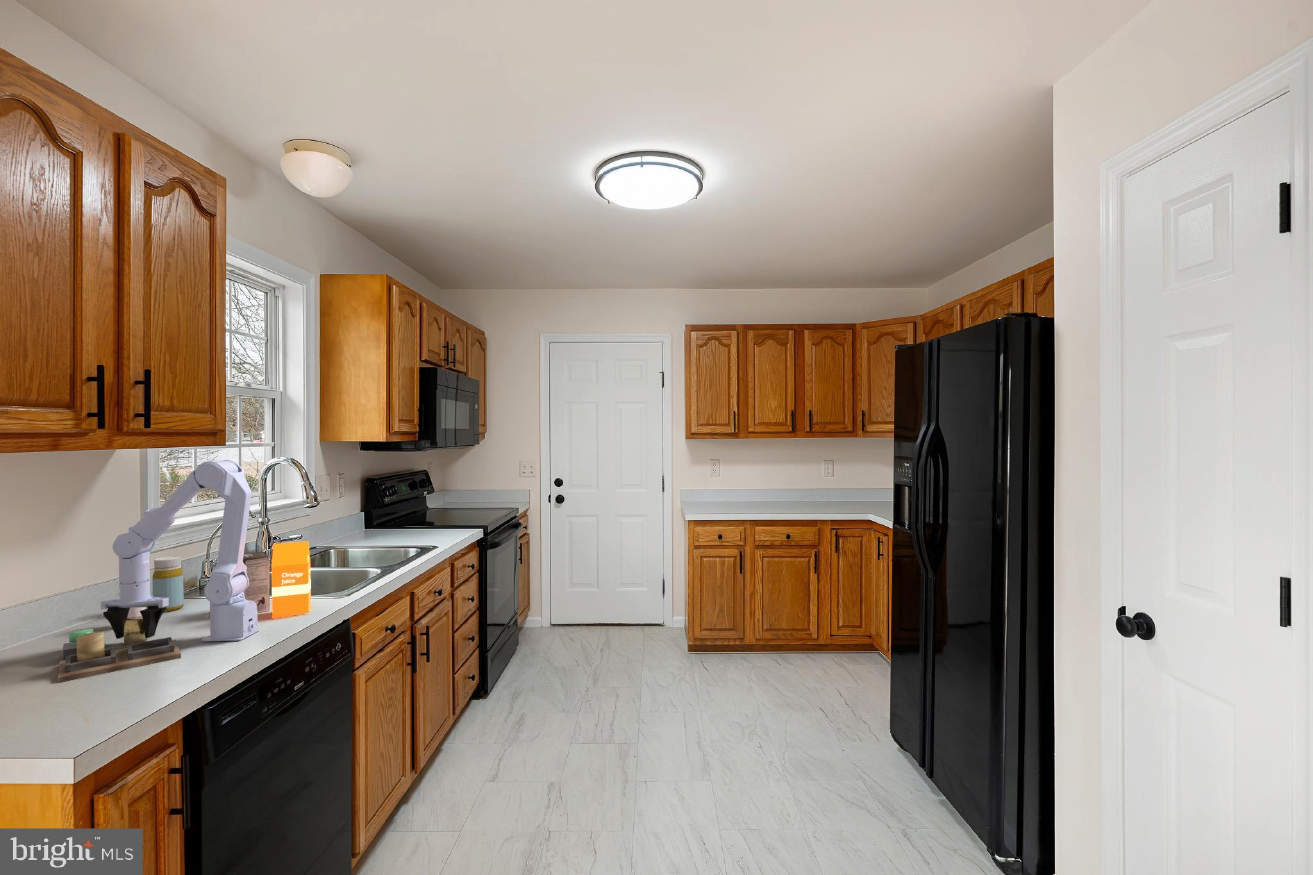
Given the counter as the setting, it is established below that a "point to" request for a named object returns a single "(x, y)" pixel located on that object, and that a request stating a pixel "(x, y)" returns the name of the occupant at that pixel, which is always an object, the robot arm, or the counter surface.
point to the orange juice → (291, 579)
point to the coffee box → (258, 580)
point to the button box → (69, 649)
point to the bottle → (169, 581)
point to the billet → (134, 630)
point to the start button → (78, 634)
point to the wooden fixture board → (113, 656)
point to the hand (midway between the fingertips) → (135, 637)
